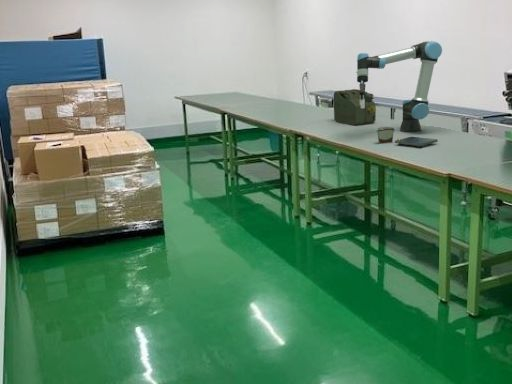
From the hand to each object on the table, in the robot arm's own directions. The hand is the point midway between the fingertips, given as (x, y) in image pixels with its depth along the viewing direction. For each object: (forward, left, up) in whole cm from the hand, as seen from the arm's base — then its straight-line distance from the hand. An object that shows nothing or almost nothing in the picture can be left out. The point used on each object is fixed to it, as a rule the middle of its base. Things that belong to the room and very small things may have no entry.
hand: (362, 106), depth 370 cm
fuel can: (-58, -59, -24) cm, 86 cm away
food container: (0, +19, -24) cm, 30 cm away
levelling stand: (-5, +41, -23) cm, 47 cm away
